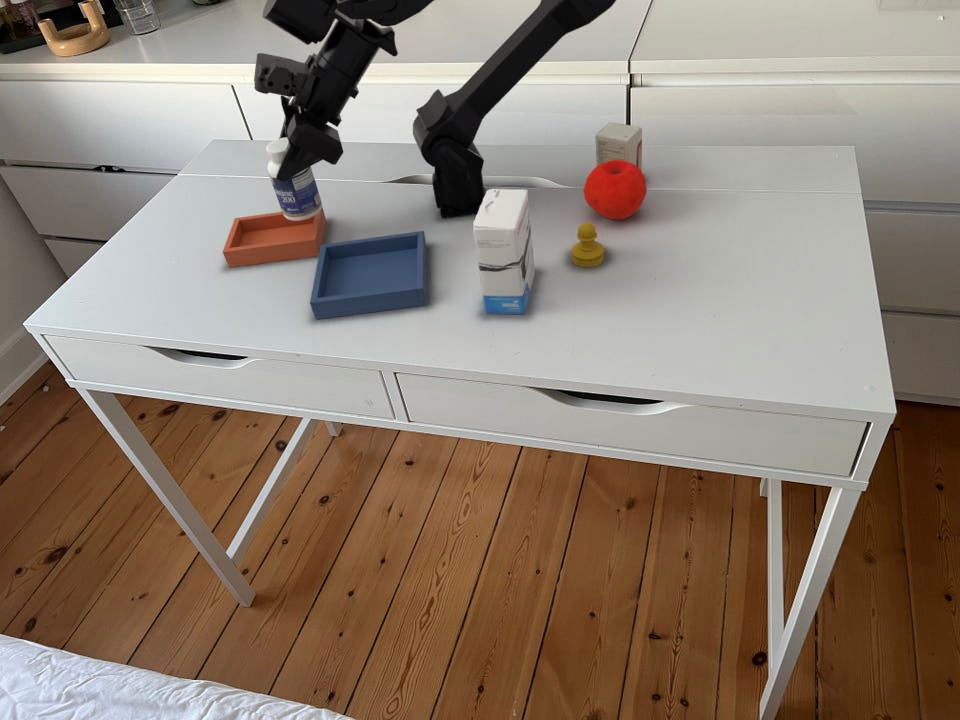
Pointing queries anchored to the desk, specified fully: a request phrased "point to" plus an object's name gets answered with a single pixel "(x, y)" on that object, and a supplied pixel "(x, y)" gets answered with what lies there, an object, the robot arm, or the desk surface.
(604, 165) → the apple
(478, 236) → the ink box
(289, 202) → the pill bottle
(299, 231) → the terracotta tray
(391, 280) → the blue tray
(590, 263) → the chess piece
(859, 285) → the desk surface
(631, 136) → the small box
